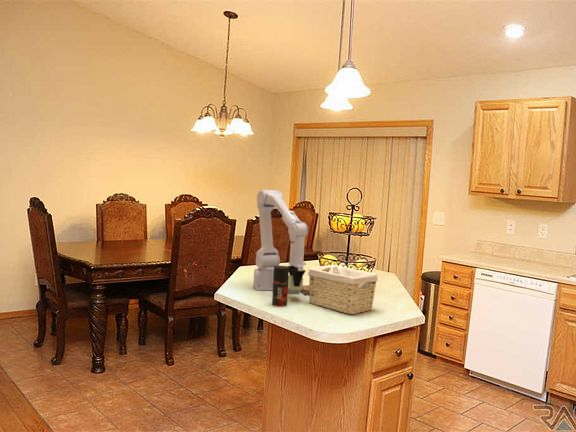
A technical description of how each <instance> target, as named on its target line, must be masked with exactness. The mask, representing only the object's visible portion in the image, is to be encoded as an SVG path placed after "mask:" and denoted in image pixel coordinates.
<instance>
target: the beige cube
mask: <svg viewBox="0 0 576 432" xmlns="http://www.w3.org/2000/svg"><path fill="white" fill-rule="evenodd" d="M303 283H304V278H303V277H302V279H301V283H300V286H299V287H295V286H294V281H293V276H292V275H290V274H289V277H288V288H289V289H290V290H302V288H303V285H304V284H303Z"/></svg>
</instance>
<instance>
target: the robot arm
mask: <svg viewBox="0 0 576 432" xmlns="http://www.w3.org/2000/svg"><path fill="white" fill-rule="evenodd" d="M256 203H257V206H256V207H257V209H258V215H259V231H260V232H259V233H260V245H261V246H260V248H259V249H258V250H257V251H256V252H255V253H256V254H255V255H256V257H255V265H256V267H257V268H255V269H254V271H253V285H252V286H253V288H254V290H256V291H273V275H274V266H280V263H281V258H280V255H279V250H277V248H275V247H274V239H273V238H274V237H273V226H272V224H273V223H272V211H273V210H274V209H275V208H276V209H277V211H278V212H279V213H280V214H281V216H282V217H281V219H282V221H283V223H284V224H285V225H286V227H287V228H288V229H287V232H288V236H289V241H290V245H289V247H290V248H289V249H290V250H289V261H288V265H286V266H287V267H289V275H292V276H293V281H294V286H295V287H299V286H300V283H301V279H302V278H303V276H304V274H306V270H305V269H304V266H306V265H307V263H306V262H304V255H305V241H306V240H305V239H306V237H307V236H308V233H309V227H308V226H309V225H307V223H306V222H303V221H301V220H300V219H299V218H298V216H297V214H296V213H295V211H294V210H290V209H289V208H288V206H287V204H286V203H285V201H284V196H283V193H282V192H281V190H279V189H275V190H274V189H260V190H259V191H258V193H257V195H256Z"/></svg>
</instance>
